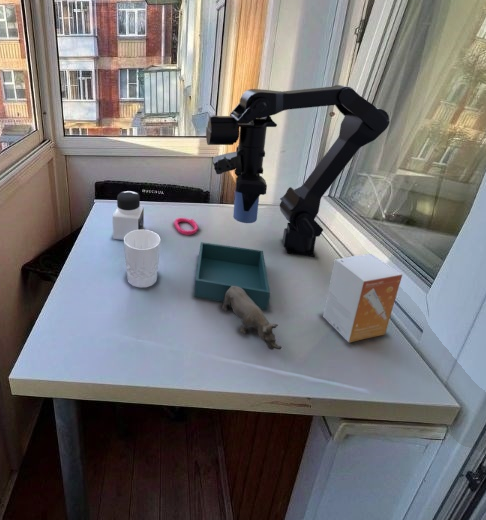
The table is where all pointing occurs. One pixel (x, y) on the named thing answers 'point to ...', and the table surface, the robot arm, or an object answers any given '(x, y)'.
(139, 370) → the table surface
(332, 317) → the small box
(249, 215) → the bottle
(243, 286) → the tray
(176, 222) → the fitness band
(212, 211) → the table surface
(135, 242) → the white cup
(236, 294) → the rhino figurine
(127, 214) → the medicine bottle
